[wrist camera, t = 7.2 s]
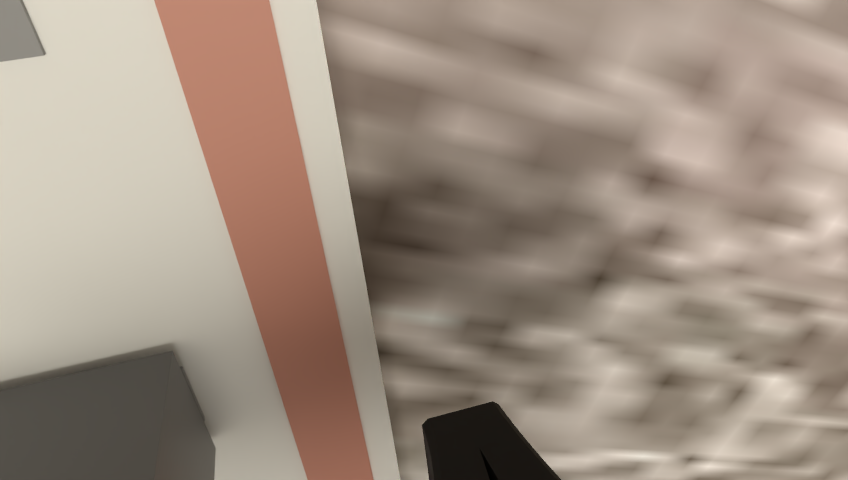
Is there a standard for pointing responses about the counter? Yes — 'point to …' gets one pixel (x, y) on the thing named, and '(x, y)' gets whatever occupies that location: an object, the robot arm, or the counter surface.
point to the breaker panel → (190, 223)
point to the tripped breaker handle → (106, 426)
